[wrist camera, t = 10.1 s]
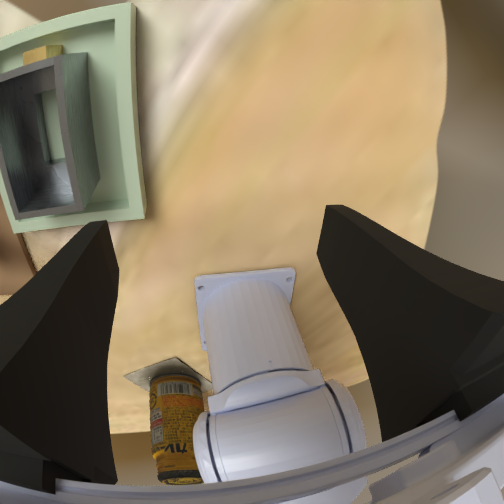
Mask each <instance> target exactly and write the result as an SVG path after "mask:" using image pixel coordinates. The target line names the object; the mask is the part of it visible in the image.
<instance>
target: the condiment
mask: <svg viewBox="0 0 504 504" xmlns="http://www.w3.org/2000/svg"><path fill="white" fill-rule="evenodd" d="M182 371H183V372H182ZM124 377H125V378H127V379H128V380H130V381H132V382H133V383H134V384H136V385H138V386H140V387H141V388H143V389H145V390H147V391H149V392H150V394H149V395H150V401H149V402H150V424H151V426H150V429H151V443H152V455H153V457H154V458H155V460H156V461H157V465H156V467H157V470H158V480H159V481H161V482H162V483H164V484H170V485H193V484H201V483H204V481H203V479H202V477H201V475H200V472H199V469H198V466H197V462H196V458H195V453H194V446H193V428H194V425H195V423H196V421H197V420H198V417H199V415H200V414H201V413H202V412H204V406H203V398H202V392H207V391H209V390H212V389H213V388H212V383H211V382H209V381H208V380H207V379H205V378H204V377H202V376H201V375H199V374H198V373H196V372H194V371H193V370H192V369H191V368H189V367H188V366H187V365H185V364H184V363H182V362H180V361H179V360H178V359H177V358H172V359H170V360H165V361H162V362H160V363H157V364H153V365H151V366H148V367H146V368H142V369H140V370H138V371H136V372H132V373H130V374H128V375H125V376H124ZM149 377H150V378H149ZM149 379H150V380H149Z"/></svg>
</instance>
